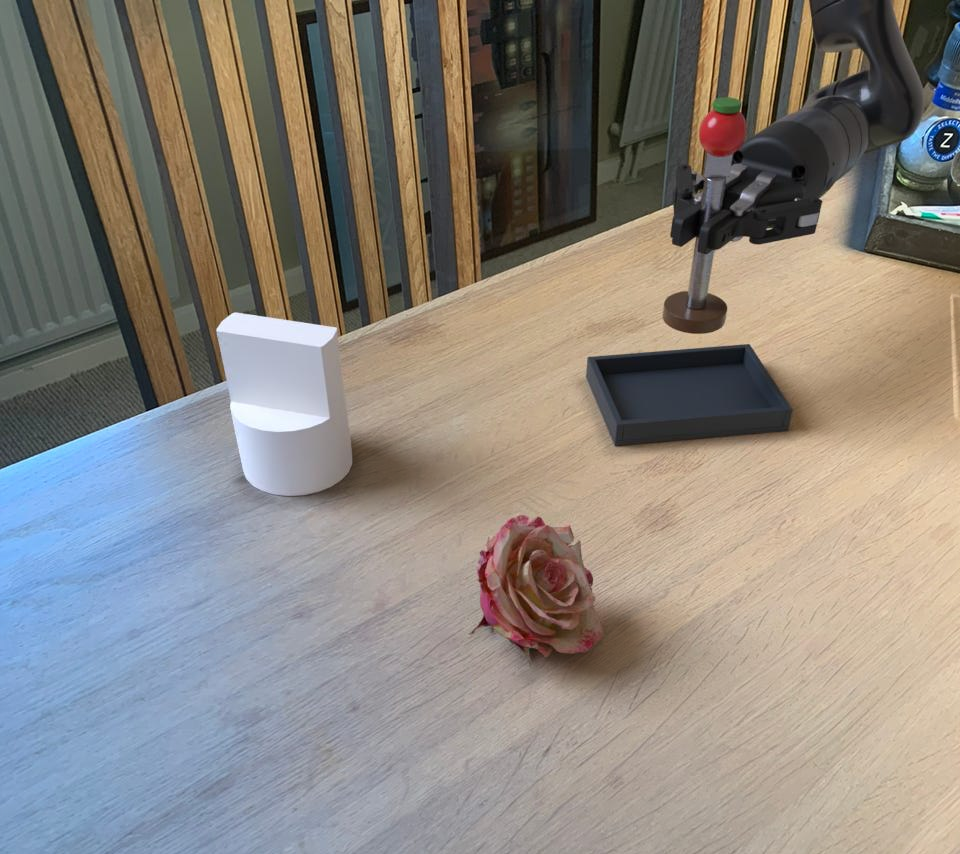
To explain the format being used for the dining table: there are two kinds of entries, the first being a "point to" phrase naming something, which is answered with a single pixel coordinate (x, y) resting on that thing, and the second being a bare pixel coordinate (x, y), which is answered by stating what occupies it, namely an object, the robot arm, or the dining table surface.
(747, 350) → the tray
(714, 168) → the red ball topped stand
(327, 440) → the base with upright slab
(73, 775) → the dining table surface
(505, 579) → the flower
